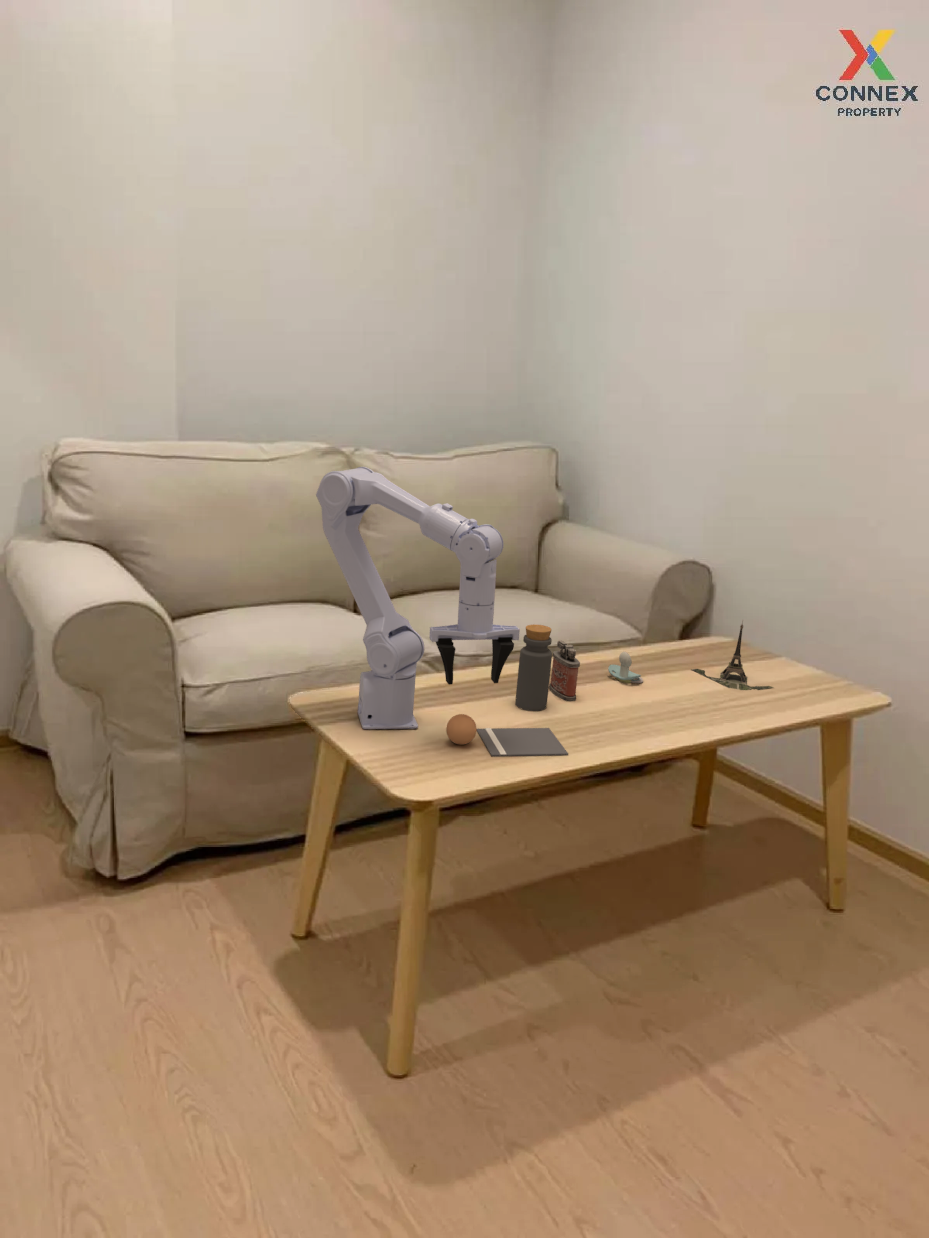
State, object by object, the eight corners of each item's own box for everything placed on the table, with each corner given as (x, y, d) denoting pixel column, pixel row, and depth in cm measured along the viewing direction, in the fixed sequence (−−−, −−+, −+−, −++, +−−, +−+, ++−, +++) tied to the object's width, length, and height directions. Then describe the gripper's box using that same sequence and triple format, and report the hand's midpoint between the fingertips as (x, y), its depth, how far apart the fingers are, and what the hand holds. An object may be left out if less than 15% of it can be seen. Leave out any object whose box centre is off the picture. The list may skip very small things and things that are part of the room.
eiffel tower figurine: (688, 671, 217) (697, 611, 213) (724, 667, 222) (733, 608, 218) (738, 695, 204) (748, 632, 201) (774, 690, 209) (785, 628, 206)
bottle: (520, 711, 184) (528, 632, 180) (510, 700, 190) (518, 623, 186) (551, 710, 186) (559, 632, 182) (540, 699, 191) (548, 623, 187)
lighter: (579, 700, 192) (585, 650, 190) (563, 701, 191) (569, 651, 188) (560, 686, 200) (565, 637, 197) (545, 687, 198) (550, 638, 196)
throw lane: (491, 756, 164) (491, 754, 164) (476, 730, 174) (476, 728, 174) (568, 755, 167) (568, 753, 167) (548, 729, 177) (549, 727, 177)
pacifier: (624, 673, 211) (603, 676, 208) (628, 644, 210) (607, 647, 206) (649, 684, 206) (629, 687, 202) (654, 655, 204) (633, 657, 201)
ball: (448, 749, 165) (450, 720, 164) (442, 737, 170) (444, 709, 169) (478, 749, 166) (480, 720, 165) (471, 737, 171) (474, 709, 170)
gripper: (437, 608, 158) (433, 691, 161) (527, 607, 161) (521, 688, 165) (428, 597, 164) (424, 677, 168) (514, 596, 168) (509, 674, 171)
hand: (472, 681), depth 167 cm, fingers open, 7 cm apart
